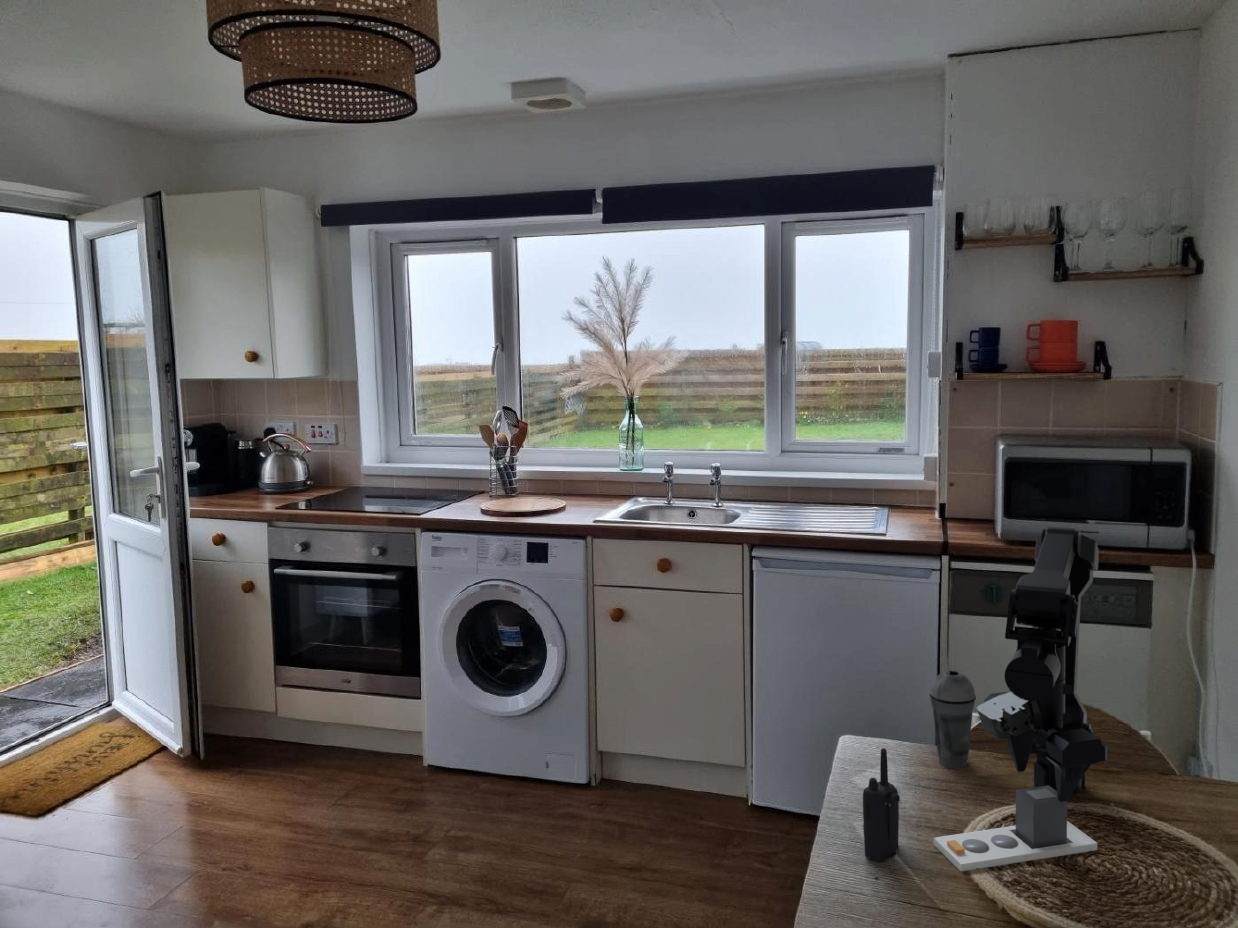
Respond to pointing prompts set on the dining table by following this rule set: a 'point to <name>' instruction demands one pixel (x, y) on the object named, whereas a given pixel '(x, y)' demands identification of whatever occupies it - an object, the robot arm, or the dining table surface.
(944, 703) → the beverage cup
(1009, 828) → the power strip
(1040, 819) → the block
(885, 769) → the two-way radio
